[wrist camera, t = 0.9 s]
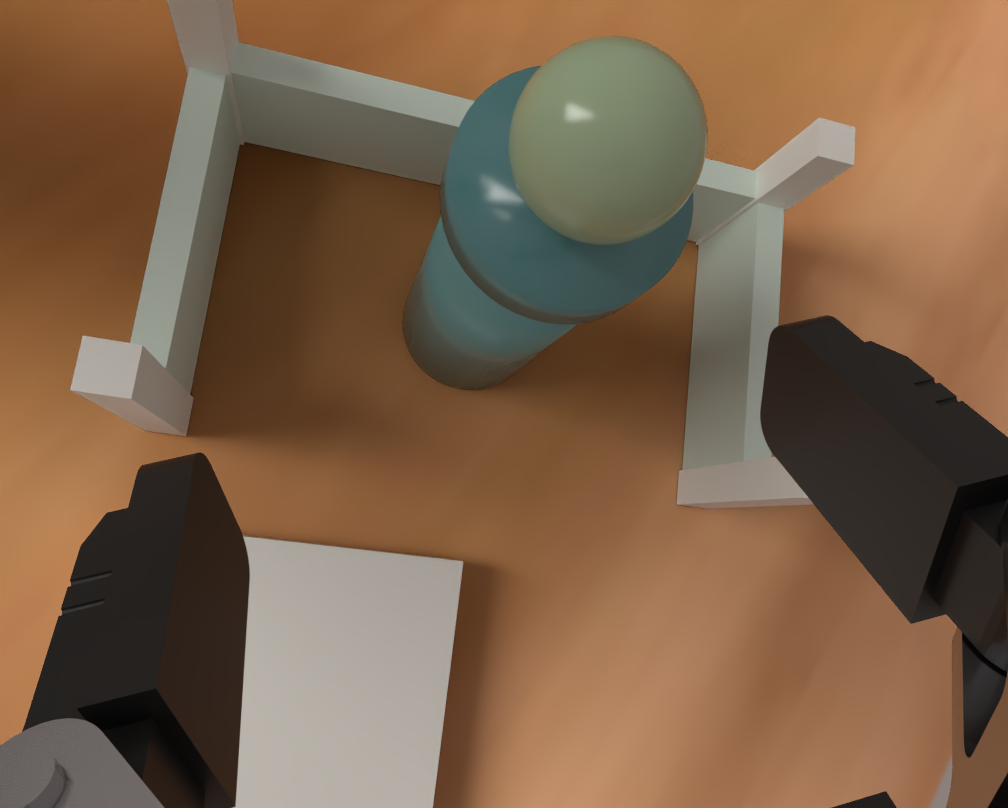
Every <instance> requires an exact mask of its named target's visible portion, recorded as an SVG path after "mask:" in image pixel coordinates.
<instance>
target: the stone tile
mask: <svg viewBox="0 0 1008 808" xmlns="http://www.w3.org/2000/svg"><path fill="white" fill-rule="evenodd" d="M243 538H244V541H245V545H246V549H247V553H248V559H249V568H250V583H249V599H248V615H247V631H246V647H245V663H244V679H243V695H242V711H241V727H240V743H239V759H238V775H237V791H236V807H233V808H433V803H434V795H435V786H436V778H437V770H438V762H439V754H440V746H441V738H442V730H443V722H444V714H445V706H446V698H447V690H448V682H449V674H450V666H451V658H452V650H453V642H454V634H455V626H456V618H457V609H458V601H459V593H460V585H461V577H462V569H463V561H460V560H456V559H450V558H441V557H432V556H423V555H414V554H406V553H397V552H388V551H379V550H370V549H362V548H353V547H344V546H335V545H326V544H318V543H309V542H300V541H291V540H282V539H274V538H265V537H256V536H247V535H243Z"/></svg>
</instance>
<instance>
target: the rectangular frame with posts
mask: <svg viewBox="0 0 1008 808" xmlns="http://www.w3.org/2000/svg"><path fill="white" fill-rule="evenodd" d="M167 3H168V7H169V10H170V14H171V17H172V21H173V24H174V28H175V31H176V35H177V38H178V42H179V46H180V49H181V53H182V56H183V60H184V63H185V67H186V70H187V74H188V77H187V81H186V86H185V91H184V95H183V100H182V104H181V109H180V114H179V118H178V123H177V128H176V132H175V137H174V142H173V146H172V151H171V155H170V160H169V165H168V169H167V174H166V179H165V183H164V188H163V192H162V197H161V202H160V206H159V211H158V216H157V220H156V225H155V230H154V234H153V239H152V243H151V248H150V253H149V257H148V262H147V267H146V271H145V276H144V281H143V285H142V290H141V294H140V299H139V304H138V308H137V313H136V318H135V322H134V327H133V331H132V336H131V341H130V343H126V342H120V341H113V340H107V339H101V338H95V337H89V336H83V337H82V341H81V346H80V350H79V354H78V359H77V363H76V367H75V372H74V376H73V381H72V385H71V389H70V390H71V391H73V392H75V393H77V394H78V395H80V396H82V397H84V398H86V399H88V400H89V401H91V402H93V403H95V404H97V405H98V406H100V407H102V408H104V409H106V410H108V411H109V412H111V413H113V414H115V415H117V416H119V417H120V418H122V419H124V420H126V421H128V422H130V423H131V424H133V425H135V426H137V427H139V428H141V429H142V430H144V431H151V432H158V433H165V434H172V435H180V436H186V435H187V430H188V425H189V420H190V415H191V410H192V405H193V400H194V398H193V397H192V396H191V395H190V393H191V388H192V383H193V378H194V373H195V368H196V363H197V358H198V353H199V348H200V343H201V338H202V333H203V328H204V323H205V318H206V313H207V308H208V302H209V297H210V292H211V287H212V282H213V277H214V272H215V267H216V262H217V257H218V252H219V247H220V242H221V237H222V232H223V227H224V222H225V217H226V212H227V206H228V201H229V196H230V191H231V186H232V181H233V176H234V171H235V166H236V161H237V156H238V151H239V146H240V144H241V145H244V142H247V143H252V144H256V145H261V146H265V147H270V148H274V149H279V150H283V151H288V152H292V153H297V154H301V155H306V156H310V157H315V158H319V159H324V160H328V161H333V162H337V163H342V164H346V165H351V166H355V167H360V168H364V169H369V170H373V171H378V172H382V173H387V174H391V175H396V176H400V177H405V178H409V179H414V180H418V181H423V182H427V183H432V184H436V185H441V179H442V175H443V170H444V167H445V164H446V161H447V158H448V156H449V153H450V150H451V147H452V145H453V142H454V139H455V136H456V134H457V131H458V128H459V126H460V123H461V122H462V120H463V118H464V116H465V114H466V113H467V111H468V110H469V108H470V107H471V106H472V104H473V103H474V102H475V101H473V100H469V99H465V98H461V97H457V96H453V95H449V94H445V93H441V92H437V91H433V90H429V89H425V88H421V87H417V86H413V85H409V84H405V83H401V82H397V81H393V80H389V79H385V78H381V77H377V76H373V75H369V74H365V73H361V72H357V71H353V70H349V69H345V68H341V67H337V66H333V65H329V64H325V63H321V62H317V61H313V60H309V59H305V58H301V57H296V56H292V55H288V54H284V53H280V52H276V51H272V50H268V49H264V48H260V47H256V46H252V45H248V44H244V43H240V42H239V39H238V33H237V27H236V20H235V14H234V8H233V1H232V0H167ZM854 151H855V127H852V126H848V125H845V124H841V123H837V122H834V121H830V120H826V119H823V118H818V119H817V120H816V121H814V122H813V123H812V124H811V125H810V126H808V127H807V128H806V129H805V130H803V131H802V132H801V133H800V134H798V135H797V136H796V137H795V138H793V139H792V140H791V141H790V142H788V143H787V144H786V145H785V146H783V147H782V148H781V149H780V150H779V151H777V152H776V153H775V154H774V155H772V156H771V157H770V158H769V159H767V160H766V161H765V162H764V163H762V164H761V165H760V166H759V167H757V168H756V169H755V170H750V169H746V168H742V167H738V166H734V165H730V164H726V163H722V162H718V161H714V160H710V159H706V158H705V162H704V166H703V169H702V172H701V175H700V178H699V180H698V182H697V185H696V187H695V188H694V190H693V216H692V223H691V228H690V231H689V235H688V238H687V240H689V241H693V242H696V245H697V246H699V248H698V262H697V275H696V289H695V303H694V316H693V330H692V343H691V357H690V371H689V384H688V398H687V412H686V425H685V439H684V453H683V466H682V470H680V471H679V478H678V492H677V505H684V506H692V507H699V508H706V509H712V508H738V507H763V506H788V505H814V504H813V503H812V501H811V500H810V499H809V498H808V497H807V495H806V494H805V493H804V492H803V490H802V489H801V488H800V487H799V485H798V484H797V483H796V482H795V481H794V479H793V478H792V477H791V476H790V474H789V473H788V472H787V471H786V469H785V468H784V467H783V466H782V465H781V463H780V462H779V461H778V460H777V458H776V457H772V452H771V450H770V449H769V447H768V445H767V443H766V441H765V438H764V435H763V432H762V427H761V421H760V409H761V400H762V392H763V384H764V375H765V367H766V359H767V351H768V343H769V338H770V335H771V332H772V331H773V329H774V328H776V327H777V326H778V322H779V303H780V283H781V264H782V244H783V225H784V211H786V210H787V209H789V208H790V207H792V206H793V205H795V204H796V203H798V202H799V201H801V200H802V199H804V198H805V197H807V196H808V195H810V194H811V193H813V192H814V191H816V190H817V189H819V188H820V187H822V186H823V185H825V184H826V183H828V182H829V181H831V180H832V179H834V178H835V177H837V176H838V175H840V174H841V173H843V172H844V171H846V170H847V169H849V168H850V167H852V166H853V165H854Z"/></svg>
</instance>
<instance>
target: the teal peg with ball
mask: <svg viewBox="0 0 1008 808" xmlns="http://www.w3.org/2000/svg"><path fill="white" fill-rule="evenodd" d="M707 142H708V129H707V120H706V115H705V110H704V106H703V103H702V100H701V97H700V95H699V92H698V90H697V88H696V87H695V85H694V83H693V81H692V80H691V78H690V77H689V75H688V74H687V73H686V72H685V70H684V69H683V68H682V67H681V66H680V65H679V64H678V63H677V62H676V61H675V60H674V59H673V58H672V57H670V56H669V55H668V54H667V53H665V52H664V51H662V50H660V49H659V48H657V47H655V46H653V45H651V44H649V43H647V42H644V41H641V40H638V39H634V38H629V37H621V36H604V37H596V38H590V39H587V40H584V41H581V42H578V43H575V44H573V45H571V46H569V47H567V48H565V49H563V50H561V51H560V52H558V53H557V54H555V55H554V56H553V57H551V58H550V59H548V60H547V61H546V62H545V63H544V64H543V65H542V66H537V67H532V68H527V69H524V70H521V71H518V72H515V73H512V74H510V75H508V76H506V77H504V78H503V79H501V80H499V81H497V82H496V83H495V84H493V85H492V86H490V87H489V88H488V89H487V90H485V91H484V92H483V93H482V94H481V95H480V96H479V97H478V98H477V99H476V100H475V102H474V103H473V104H472V106H471V107H470V108H469V110H468V111H467V113H466V114H465V116H464V118H463V120H462V122H461V123H460V126H459V128H458V131H457V134H456V136H455V139H454V142H453V145H452V147H451V150H450V153H449V156H448V158H447V161H446V164H445V167H444V170H443V175H442V179H441V185H440V213H441V217H440V219H439V222H438V224H437V227H436V229H435V231H434V234H433V236H432V239H431V241H430V244H429V246H428V249H427V251H426V254H425V256H424V259H423V261H422V263H421V266H420V268H419V271H418V273H417V276H416V278H415V281H414V283H413V286H412V288H411V291H410V293H409V295H408V298H407V301H406V303H405V307H404V311H403V320H402V325H403V334H404V339H405V342H406V345H407V348H408V350H409V352H410V354H411V356H412V357H413V359H414V360H415V362H416V363H417V364H418V365H419V367H420V368H421V369H422V370H423V371H424V372H425V373H427V374H428V375H429V376H430V377H432V378H433V379H435V380H436V381H438V382H440V383H442V384H444V385H447V386H450V387H453V388H457V389H464V390H477V389H483V388H487V387H491V386H494V385H496V384H498V383H500V382H502V381H503V380H505V379H506V378H508V377H509V376H510V375H512V374H513V373H514V372H516V371H517V370H518V369H520V368H521V367H522V366H523V365H525V364H526V363H527V362H529V361H530V360H531V359H533V358H534V357H535V356H537V355H538V354H539V353H540V352H542V351H543V350H544V349H546V348H547V347H548V346H550V345H551V344H552V343H554V342H555V341H556V340H557V339H559V338H560V337H561V336H563V335H564V334H565V333H567V332H568V331H569V330H571V329H572V328H573V327H574V326H576V325H577V324H579V323H586V322H591V321H594V320H598V319H601V318H604V317H606V316H608V315H610V314H613V313H615V312H617V311H618V310H620V309H621V308H623V307H624V306H626V305H628V304H629V303H630V302H632V301H633V300H635V299H636V298H637V297H639V296H640V295H642V294H643V293H645V292H646V291H647V290H649V289H650V288H652V287H653V286H654V285H655V284H656V283H658V282H659V281H660V280H661V279H662V278H663V277H664V276H665V275H666V274H667V273H668V272H669V270H670V269H671V268H672V267H673V266H674V264H675V262H676V261H677V259H678V258H679V256H680V254H681V253H682V250H683V248H684V246H685V243H686V241H687V238H688V235H689V231H690V228H691V223H692V216H693V190H694V188H695V187H696V185H697V182H698V180H699V178H700V175H701V172H702V169H703V166H704V162H705V158H706V151H707Z"/></svg>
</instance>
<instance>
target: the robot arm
mask: <svg viewBox="0 0 1008 808" xmlns="http://www.w3.org/2000/svg"><path fill="white" fill-rule="evenodd" d="M956 397H957V396H955V395H954V394H953V393H952V392H951V391H949V390H948V389H947V388H946V387H944V386H943V385H942V384H941V383H937V384H936V383H935V382H934V378H933V377H932V376H931V375H929V374H928V373H927V372H926V371H924V370H923V369H922V368H921V367H919V366H918V365H917V364H916V363H914V362H913V361H912V360H911V359H909V358H908V357H907V356H904V355H902V354H900V353H897V352H895V351H893V350H890V349H888V348H886V347H883V346H881V345H879V344H876V343H874V342H872V341H869V342H863V341H862V340H861V339H860V338H859V337H857V336H856V335H855V334H854V333H853V332H851V331H850V330H849V329H848V328H847V327H845V326H844V325H843V324H842V323H841V322H839V321H838V320H837V319H835V318H834V317H832V316H827V315H826V316H821V317H817V318H812V319H808V320H803V321H799V322H794V323H790V324H785V325H781V326H777V327H776V328H774V329H773V331H772V332H771V335H770V338H769V343H768V351H767V359H766V367H765V375H764V384H763V392H762V400H761V409H760V421H761V427H762V432H763V435H764V438H765V441H766V443H767V445H768V447H769V449H770V450H771V452H772V453H773V455H774V456H775V457H776V458H777V460H778V461H779V462H780V463H781V465H782V466H783V467H784V468H785V469H786V471H787V472H788V473H789V474H790V476H791V477H792V478H793V479H794V481H795V482H796V483H797V484H798V485H799V487H800V488H801V489H802V490H803V492H804V493H805V494H806V495H807V497H808V498H809V499H810V500H811V501H812V503H813V504H814V505H815V506H816V508H817V509H818V510H819V511H820V513H821V514H822V515H823V516H824V517H825V519H826V520H827V521H828V522H829V524H830V525H831V526H832V527H833V529H834V530H835V531H836V532H837V533H838V535H839V536H840V537H841V538H842V540H843V541H844V542H845V543H846V545H847V546H848V547H849V548H850V549H851V551H852V552H853V553H854V554H855V556H856V557H857V558H858V559H859V561H860V562H861V563H862V564H863V565H864V567H865V568H866V569H867V570H868V572H869V573H870V574H871V575H872V577H873V578H874V579H875V580H876V581H877V583H878V584H879V585H880V586H881V588H882V589H883V590H884V591H885V593H886V594H887V595H888V596H889V597H890V599H891V600H892V601H893V602H894V604H895V605H896V606H897V607H898V609H899V610H900V611H901V612H902V613H903V615H904V616H905V617H906V618H907V620H908V621H909V622H910V623H911V624H912V623H915V622H919V621H923V620H926V619H930V618H934V617H937V616H941V615H944V614H947V615H948V616H949V618H950V619H951V620H952V621H953V622H954V623H955V624H956V626H957V629H956V632H955V634H954V637H953V640H952V767H953V768H952V780H951V788H950V794H949V798H948V802H947V806H946V808H1008V437H1007V436H1005V435H1004V434H1003V433H1002V432H1000V431H999V430H998V429H997V428H995V427H994V426H993V425H992V424H990V423H989V422H988V421H987V420H985V419H984V418H983V417H982V416H980V415H979V414H978V413H977V412H975V411H974V410H973V409H972V408H970V407H969V406H968V405H967V404H965V403H964V402H963V401H960V402H958V401H957V398H956ZM70 581H71V586H70V587H68V588H67V591H66V595H65V598H64V601H63V604H62V607H61V610H62V616H59V617H58V620H57V623H56V626H55V630H54V633H53V636H52V639H51V642H50V646H49V649H48V652H47V655H46V658H45V662H44V665H43V668H42V671H41V674H40V678H39V681H38V684H37V687H36V690H35V693H34V697H33V700H32V703H31V706H30V709H29V713H28V716H27V719H26V722H25V725H24V728H23V731H22V732H21V733H19V734H18V735H16V736H14V737H12V738H11V739H9V740H8V741H7V742H5V743H4V744H2V745H1V746H0V808H233V807H236V791H237V775H238V759H239V743H240V727H241V711H242V695H243V679H244V663H245V647H246V631H247V615H248V599H249V583H250V568H249V559H248V553H247V549H246V545H245V541H244V538H243V535H242V532H241V530H240V528H239V526H238V523H237V521H236V519H235V517H234V515H233V512H232V510H231V508H230V506H229V504H228V501H227V499H226V497H225V495H224V493H223V490H222V488H221V486H220V484H219V482H218V479H217V477H216V475H215V473H214V471H213V468H212V466H211V464H210V462H209V460H208V459H207V457H206V456H205V455H204V454H203V453H195V454H191V455H186V456H182V457H177V458H173V459H168V460H164V461H159V462H155V463H150V464H146V465H142V466H141V467H140V468H139V470H138V473H137V476H136V480H135V484H134V488H133V491H132V495H131V499H130V503H129V507H128V508H126V509H122V510H117V511H113V512H108V513H106V514H105V516H104V517H103V518H102V520H101V521H100V522H99V523H98V525H97V526H96V527H95V528H94V530H93V531H92V532H91V534H90V535H89V536H88V537H87V539H86V540H85V541H84V542H83V544H82V545H81V547H80V550H79V553H78V556H77V559H76V563H75V566H74V569H73V572H72V575H71V579H70ZM832 808H896V806H895V805H894V803H893V801H892V800H891V798H890V797H889V795H888V794H887V792H886V791H885V792H882V793H879V794H875V795H872V796H869V797H865V798H862V799H859V800H855V801H852V802H849V803H846V804H842V805H839V806H836V807H832Z"/></svg>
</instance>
